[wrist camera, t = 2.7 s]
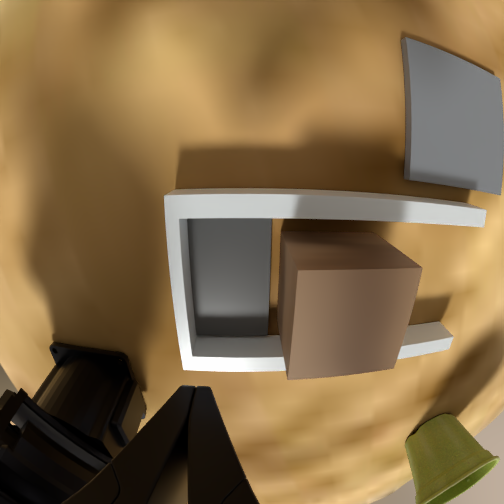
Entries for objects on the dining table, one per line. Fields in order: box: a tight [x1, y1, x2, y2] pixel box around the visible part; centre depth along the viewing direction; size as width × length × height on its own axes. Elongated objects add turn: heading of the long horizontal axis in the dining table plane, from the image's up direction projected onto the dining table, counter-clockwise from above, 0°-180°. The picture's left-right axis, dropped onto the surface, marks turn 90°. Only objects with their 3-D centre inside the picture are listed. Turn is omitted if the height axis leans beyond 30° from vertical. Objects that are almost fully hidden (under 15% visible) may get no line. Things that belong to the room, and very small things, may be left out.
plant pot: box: [405, 414, 500, 504], centre depth 17 cm, size 9×9×9 cm
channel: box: [164, 188, 487, 372], centre depth 14 cm, size 17×9×2 cm, turn 90°
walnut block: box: [277, 231, 422, 380], centre depth 13 cm, size 5×5×5 cm
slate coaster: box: [401, 37, 504, 195], centre depth 12 cm, size 8×8×1 cm
